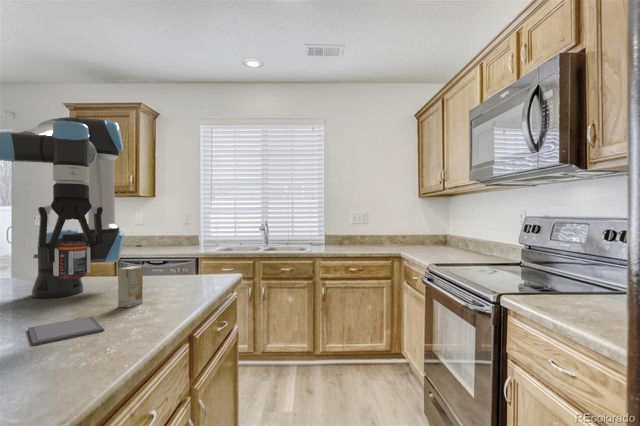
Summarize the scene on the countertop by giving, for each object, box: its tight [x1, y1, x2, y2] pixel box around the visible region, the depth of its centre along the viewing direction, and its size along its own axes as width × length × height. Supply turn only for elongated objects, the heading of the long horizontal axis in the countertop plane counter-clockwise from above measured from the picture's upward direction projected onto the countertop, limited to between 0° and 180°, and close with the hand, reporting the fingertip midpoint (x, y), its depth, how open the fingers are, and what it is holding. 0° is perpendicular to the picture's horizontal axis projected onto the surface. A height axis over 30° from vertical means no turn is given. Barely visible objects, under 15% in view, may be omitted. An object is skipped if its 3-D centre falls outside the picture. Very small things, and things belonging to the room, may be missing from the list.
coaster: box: [27, 316, 105, 346], centre depth 89 cm, size 14×14×1 cm
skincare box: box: [117, 265, 144, 308], centre depth 113 cm, size 6×4×12 cm
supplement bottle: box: [58, 232, 87, 279], centre depth 90 cm, size 6×6×11 cm
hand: (72, 273), depth 90 cm, fingers closed on supplement bottle, 6 cm apart
